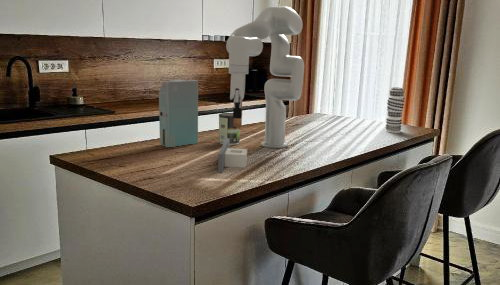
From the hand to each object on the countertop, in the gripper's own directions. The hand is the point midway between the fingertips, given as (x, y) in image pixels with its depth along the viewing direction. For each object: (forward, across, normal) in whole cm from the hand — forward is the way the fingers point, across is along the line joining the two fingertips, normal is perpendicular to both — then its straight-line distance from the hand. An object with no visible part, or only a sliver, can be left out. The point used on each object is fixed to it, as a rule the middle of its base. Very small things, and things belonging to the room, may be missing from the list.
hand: (237, 117), depth 178 cm
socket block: (+19, 0, 0) cm, 19 cm away
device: (+20, -34, -30) cm, 49 cm away
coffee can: (+20, -41, -7) cm, 46 cm away
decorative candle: (+19, -87, +83) cm, 122 cm away
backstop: (+19, 0, +4) cm, 20 cm away
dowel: (+4, 0, 0) cm, 4 cm away
